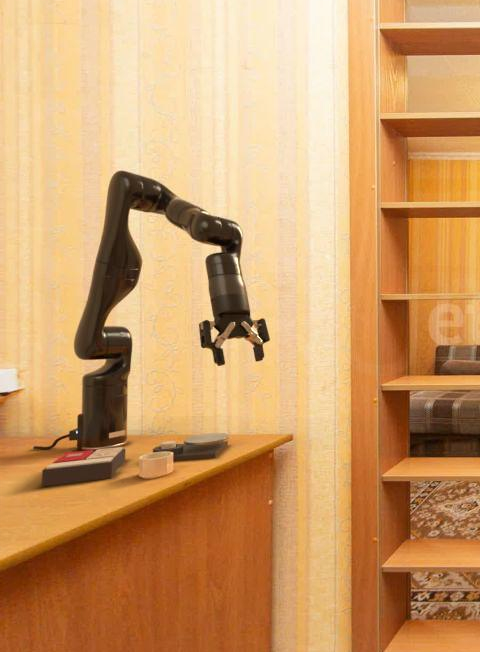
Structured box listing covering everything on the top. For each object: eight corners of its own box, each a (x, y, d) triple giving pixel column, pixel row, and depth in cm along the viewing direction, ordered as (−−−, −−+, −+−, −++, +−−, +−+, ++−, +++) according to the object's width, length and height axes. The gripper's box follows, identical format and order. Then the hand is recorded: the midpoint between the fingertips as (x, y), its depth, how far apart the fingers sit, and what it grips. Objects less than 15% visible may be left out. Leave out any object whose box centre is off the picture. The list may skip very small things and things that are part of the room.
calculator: (126, 445, 109) (112, 458, 97) (125, 462, 109) (111, 478, 96) (64, 451, 103) (41, 466, 91) (64, 469, 103) (40, 487, 90)
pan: (177, 446, 112) (177, 444, 112) (191, 436, 121) (191, 434, 121) (223, 443, 115) (223, 441, 115) (232, 434, 124) (233, 432, 124)
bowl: (133, 481, 95) (134, 460, 95) (145, 472, 101) (146, 452, 101) (166, 478, 98) (167, 458, 98) (176, 469, 103) (177, 450, 103)
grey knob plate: (148, 463, 107) (148, 451, 107) (167, 449, 118) (167, 438, 118) (215, 458, 112) (215, 446, 112) (227, 445, 123) (227, 435, 123)
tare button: (158, 450, 109) (158, 444, 109) (163, 447, 112) (163, 441, 112) (173, 449, 110) (173, 443, 110) (177, 446, 113) (177, 440, 113)
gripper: (251, 301, 112) (262, 362, 110) (187, 300, 100) (199, 370, 98) (267, 292, 108) (279, 356, 107) (202, 291, 96) (215, 363, 94)
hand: (241, 363), depth 102 cm, fingers open, 8 cm apart
